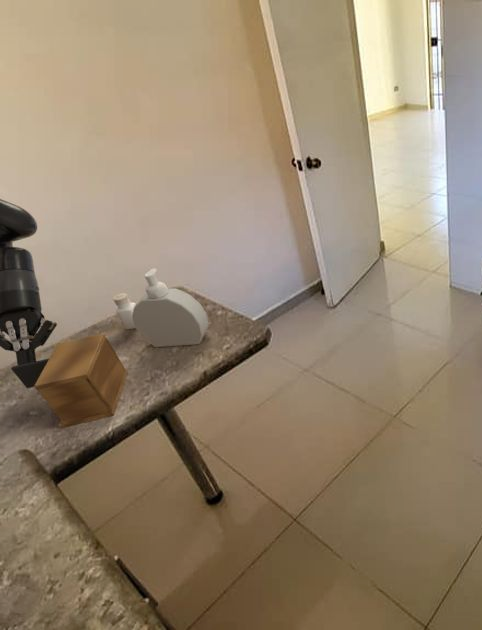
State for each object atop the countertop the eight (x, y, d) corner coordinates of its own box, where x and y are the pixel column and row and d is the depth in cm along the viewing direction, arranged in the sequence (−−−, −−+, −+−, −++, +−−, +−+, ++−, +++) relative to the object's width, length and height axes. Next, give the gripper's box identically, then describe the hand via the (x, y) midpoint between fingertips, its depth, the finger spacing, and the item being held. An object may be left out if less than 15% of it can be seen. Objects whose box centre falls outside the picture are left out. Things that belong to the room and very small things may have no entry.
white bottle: (141, 328, 118) (125, 299, 113) (125, 330, 118) (108, 301, 112) (145, 319, 121) (130, 291, 116) (129, 322, 121) (114, 293, 115)
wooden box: (61, 428, 91) (27, 387, 84) (80, 383, 101) (52, 344, 94) (114, 415, 93) (86, 374, 86) (127, 372, 104) (103, 333, 97)
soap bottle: (215, 331, 115) (188, 266, 104) (208, 344, 111) (179, 277, 99) (155, 335, 115) (121, 270, 104) (145, 348, 111) (109, 281, 99)
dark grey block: (21, 411, 93) (-6, 380, 88) (33, 389, 99) (8, 359, 93) (72, 399, 96) (48, 368, 90) (81, 379, 101) (59, 348, 95)
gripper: (-31, 295, 94) (-21, 373, 91) (39, 283, 97) (51, 358, 94) (-5, 303, 101) (5, 375, 98) (60, 291, 104) (71, 361, 102)
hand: (27, 367), depth 96 cm, fingers closed
